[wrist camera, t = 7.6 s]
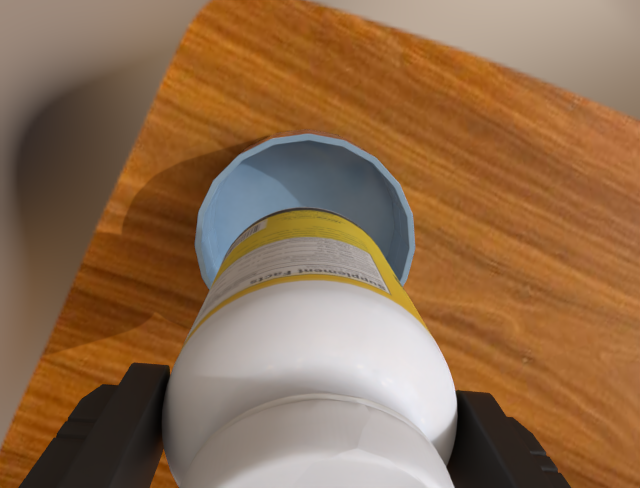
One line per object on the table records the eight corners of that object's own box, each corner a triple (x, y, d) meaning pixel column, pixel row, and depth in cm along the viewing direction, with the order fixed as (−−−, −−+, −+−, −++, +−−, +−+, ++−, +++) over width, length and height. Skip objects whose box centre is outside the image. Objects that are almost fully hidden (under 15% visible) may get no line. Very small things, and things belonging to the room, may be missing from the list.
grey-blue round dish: (340, 336, 28) (347, 374, 24) (180, 262, 26) (160, 290, 22) (432, 187, 25) (456, 202, 21) (263, 92, 23) (255, 90, 20)
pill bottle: (337, 377, 19) (398, 763, 8) (193, 317, 18) (29, 671, 7) (416, 246, 17) (629, 499, 6) (264, 170, 16) (202, 319, 5)
